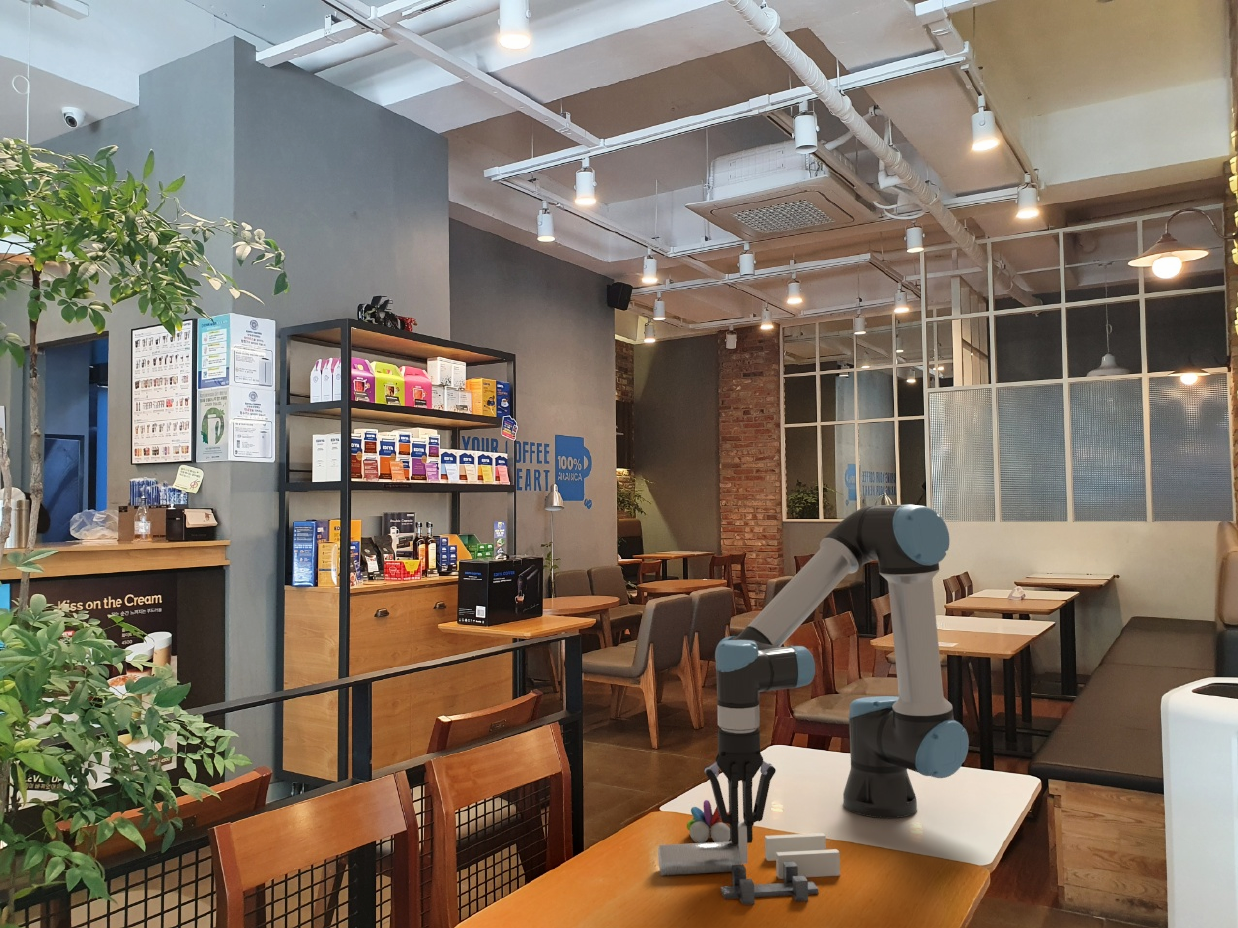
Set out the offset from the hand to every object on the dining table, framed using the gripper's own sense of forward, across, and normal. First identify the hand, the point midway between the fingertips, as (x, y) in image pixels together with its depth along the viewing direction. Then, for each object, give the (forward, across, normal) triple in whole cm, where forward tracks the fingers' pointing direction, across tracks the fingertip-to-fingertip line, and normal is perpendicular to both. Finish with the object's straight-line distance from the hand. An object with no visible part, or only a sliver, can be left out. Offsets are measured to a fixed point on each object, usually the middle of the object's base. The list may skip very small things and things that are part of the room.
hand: (741, 860), depth 164 cm
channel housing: (+2, -11, 0) cm, 11 cm away
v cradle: (+2, -2, +10) cm, 10 cm away
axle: (-1, +8, 0) cm, 8 cm away
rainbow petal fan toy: (+2, +2, -16) cm, 16 cm away
